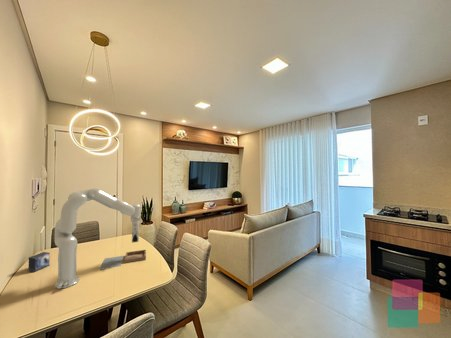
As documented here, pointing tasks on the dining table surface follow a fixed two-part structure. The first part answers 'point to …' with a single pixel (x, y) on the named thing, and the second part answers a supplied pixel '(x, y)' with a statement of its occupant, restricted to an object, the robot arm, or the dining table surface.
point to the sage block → (137, 237)
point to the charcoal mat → (112, 262)
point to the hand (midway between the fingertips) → (135, 240)
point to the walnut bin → (135, 256)
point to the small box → (38, 261)
